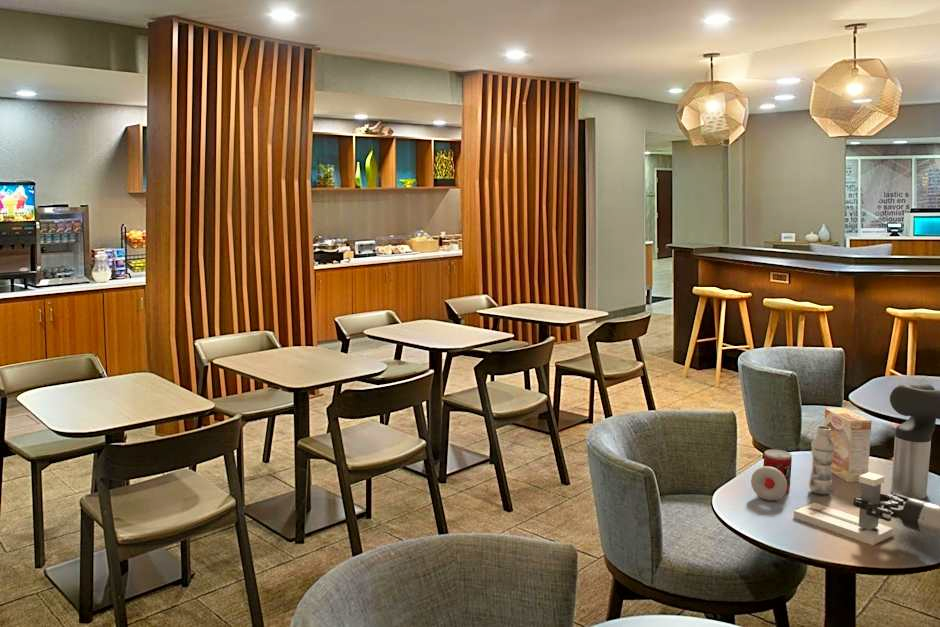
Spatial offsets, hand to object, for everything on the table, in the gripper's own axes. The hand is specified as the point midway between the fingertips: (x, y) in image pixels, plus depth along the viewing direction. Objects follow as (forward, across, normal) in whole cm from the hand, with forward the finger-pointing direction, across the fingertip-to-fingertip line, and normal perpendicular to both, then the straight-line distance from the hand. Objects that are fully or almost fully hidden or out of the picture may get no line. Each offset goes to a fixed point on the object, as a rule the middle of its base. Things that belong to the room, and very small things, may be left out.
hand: (863, 498), depth 211 cm
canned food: (+32, -11, +10) cm, 35 cm away
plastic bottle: (+22, -18, +10) cm, 30 cm away
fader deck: (+5, 0, +10) cm, 11 cm away
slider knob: (-2, 0, +8) cm, 8 cm away
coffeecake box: (+27, -40, +10) cm, 49 cm away
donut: (+28, -1, +10) cm, 30 cm away
